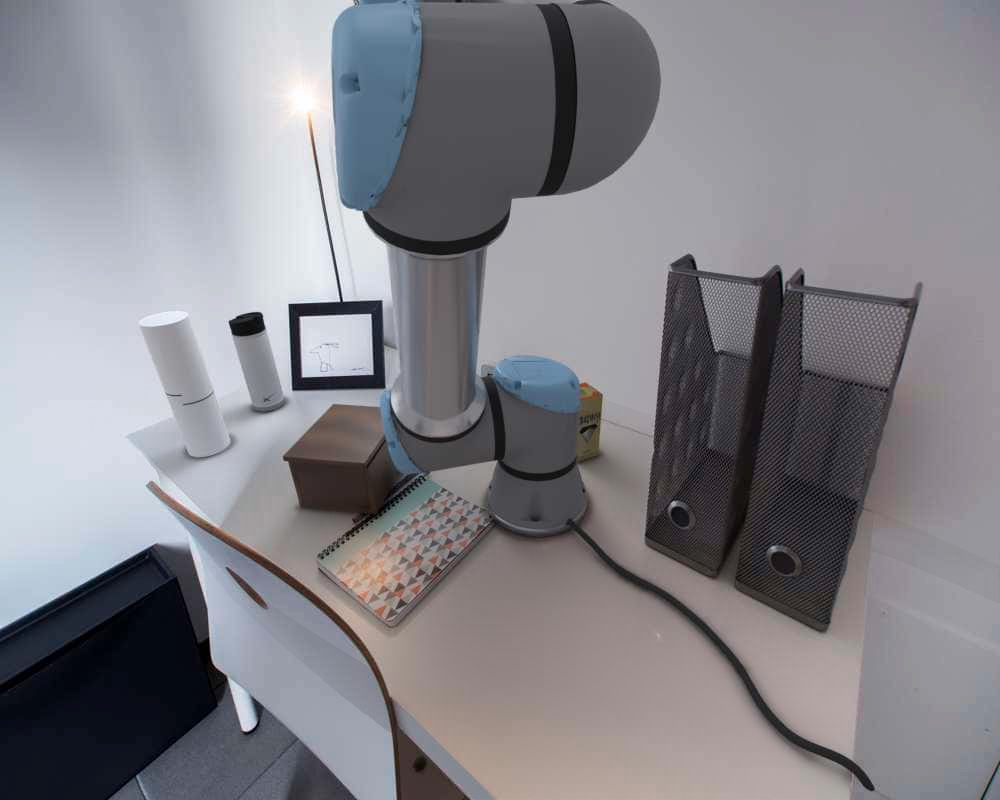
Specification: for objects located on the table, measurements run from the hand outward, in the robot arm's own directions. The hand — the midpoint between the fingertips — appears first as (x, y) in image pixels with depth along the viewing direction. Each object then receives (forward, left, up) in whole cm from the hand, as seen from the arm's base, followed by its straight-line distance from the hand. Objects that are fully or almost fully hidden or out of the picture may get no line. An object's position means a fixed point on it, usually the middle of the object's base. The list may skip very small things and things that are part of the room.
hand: (410, 258), depth 86 cm
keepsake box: (-6, +18, -32) cm, 38 cm away
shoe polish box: (-25, -15, -33) cm, 44 cm away
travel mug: (+30, +20, -33) cm, 49 cm away
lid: (-6, +18, -23) cm, 30 cm away
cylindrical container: (+22, +34, -33) cm, 52 cm away
